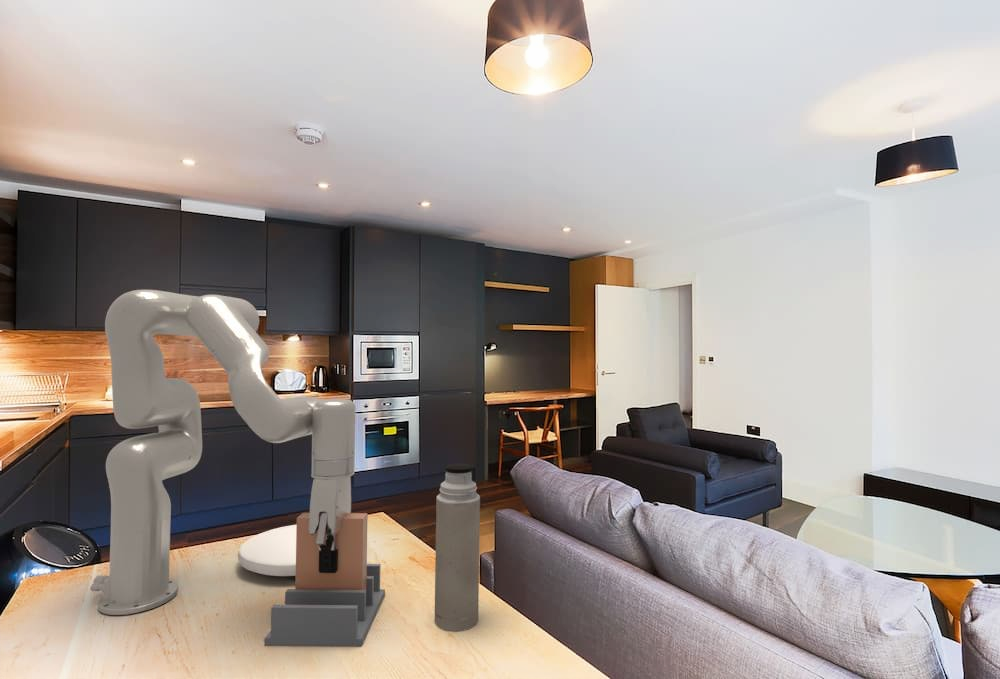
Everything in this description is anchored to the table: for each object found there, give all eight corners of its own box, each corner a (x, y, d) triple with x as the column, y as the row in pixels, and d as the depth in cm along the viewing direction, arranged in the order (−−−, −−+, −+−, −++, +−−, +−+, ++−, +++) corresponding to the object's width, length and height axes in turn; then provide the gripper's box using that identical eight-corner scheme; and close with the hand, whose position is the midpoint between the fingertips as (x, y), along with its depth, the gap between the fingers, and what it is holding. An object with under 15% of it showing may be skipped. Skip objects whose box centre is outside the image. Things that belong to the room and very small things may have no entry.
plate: (289, 515, 135) (382, 524, 130) (287, 540, 134) (380, 550, 129) (210, 542, 108) (324, 554, 102) (206, 574, 107) (321, 588, 102)
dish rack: (264, 645, 84) (265, 607, 84) (304, 594, 101) (305, 563, 101) (361, 646, 84) (362, 608, 84) (384, 595, 101) (385, 564, 101)
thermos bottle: (429, 612, 95) (432, 462, 95) (470, 605, 98) (472, 459, 98) (440, 635, 87) (443, 471, 88) (484, 626, 90) (486, 468, 91)
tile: (295, 596, 91) (296, 518, 91) (301, 588, 94) (303, 512, 94) (361, 597, 91) (363, 518, 91) (366, 589, 94) (367, 513, 94)
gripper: (327, 457, 101) (326, 550, 101) (295, 477, 85) (292, 588, 84) (365, 457, 101) (363, 550, 101) (339, 478, 85) (337, 589, 84)
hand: (331, 566), depth 92 cm, fingers closed on tile, 3 cm apart
